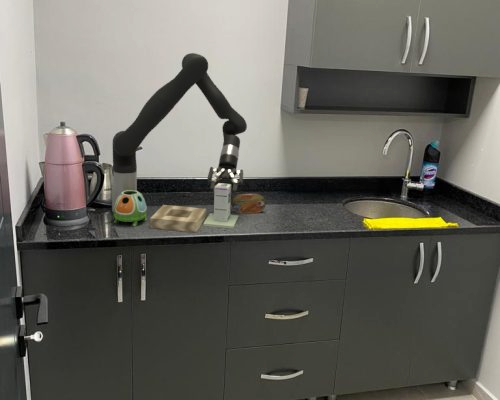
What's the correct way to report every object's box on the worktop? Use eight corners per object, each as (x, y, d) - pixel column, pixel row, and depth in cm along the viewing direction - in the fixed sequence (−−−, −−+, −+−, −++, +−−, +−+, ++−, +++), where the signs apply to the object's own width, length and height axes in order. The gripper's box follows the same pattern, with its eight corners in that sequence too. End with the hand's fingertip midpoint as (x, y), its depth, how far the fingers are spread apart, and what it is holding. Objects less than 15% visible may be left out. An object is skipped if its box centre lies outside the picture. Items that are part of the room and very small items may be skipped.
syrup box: (227, 222, 201) (229, 187, 197) (213, 220, 202) (214, 185, 198) (230, 218, 206) (232, 183, 202) (216, 216, 207) (217, 182, 203)
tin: (231, 214, 215) (232, 195, 213) (230, 211, 218) (231, 193, 216) (265, 213, 219) (266, 194, 217) (263, 210, 222) (264, 192, 220)
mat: (203, 225, 198) (203, 223, 198) (210, 215, 211) (210, 213, 211) (233, 228, 197) (233, 226, 197) (238, 217, 210) (238, 215, 210)
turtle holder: (155, 214, 208) (155, 186, 205) (138, 228, 191) (138, 198, 188) (126, 211, 210) (126, 183, 207) (108, 224, 193) (107, 195, 189)
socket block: (150, 228, 192) (150, 218, 191) (163, 214, 209) (163, 204, 208) (196, 232, 190) (196, 222, 189) (205, 218, 208) (206, 208, 206)
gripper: (211, 151, 207) (204, 185, 199) (245, 154, 205) (240, 188, 198) (213, 161, 213) (206, 194, 205) (246, 164, 212) (241, 197, 204)
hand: (223, 191), depth 202 cm, fingers open, 8 cm apart
